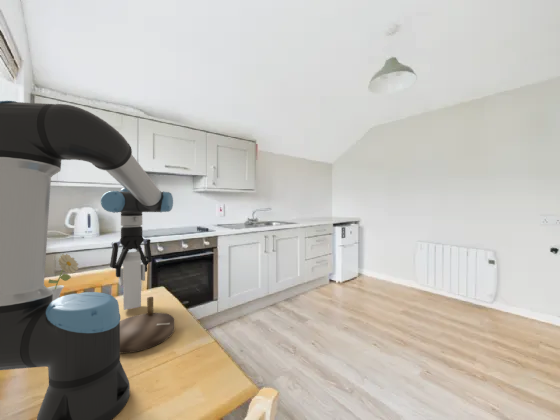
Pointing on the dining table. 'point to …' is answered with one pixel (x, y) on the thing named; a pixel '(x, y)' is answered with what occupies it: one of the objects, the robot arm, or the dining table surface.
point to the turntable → (145, 330)
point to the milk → (132, 280)
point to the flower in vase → (69, 267)
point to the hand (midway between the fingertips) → (132, 282)
